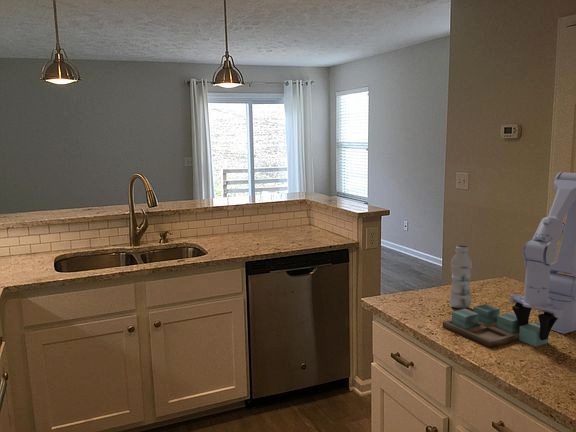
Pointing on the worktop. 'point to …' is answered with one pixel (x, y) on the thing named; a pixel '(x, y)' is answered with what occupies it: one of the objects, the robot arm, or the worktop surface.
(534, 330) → the teal block
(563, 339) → the worktop surface
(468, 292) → the plastic bottle
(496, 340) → the puzzle tray
